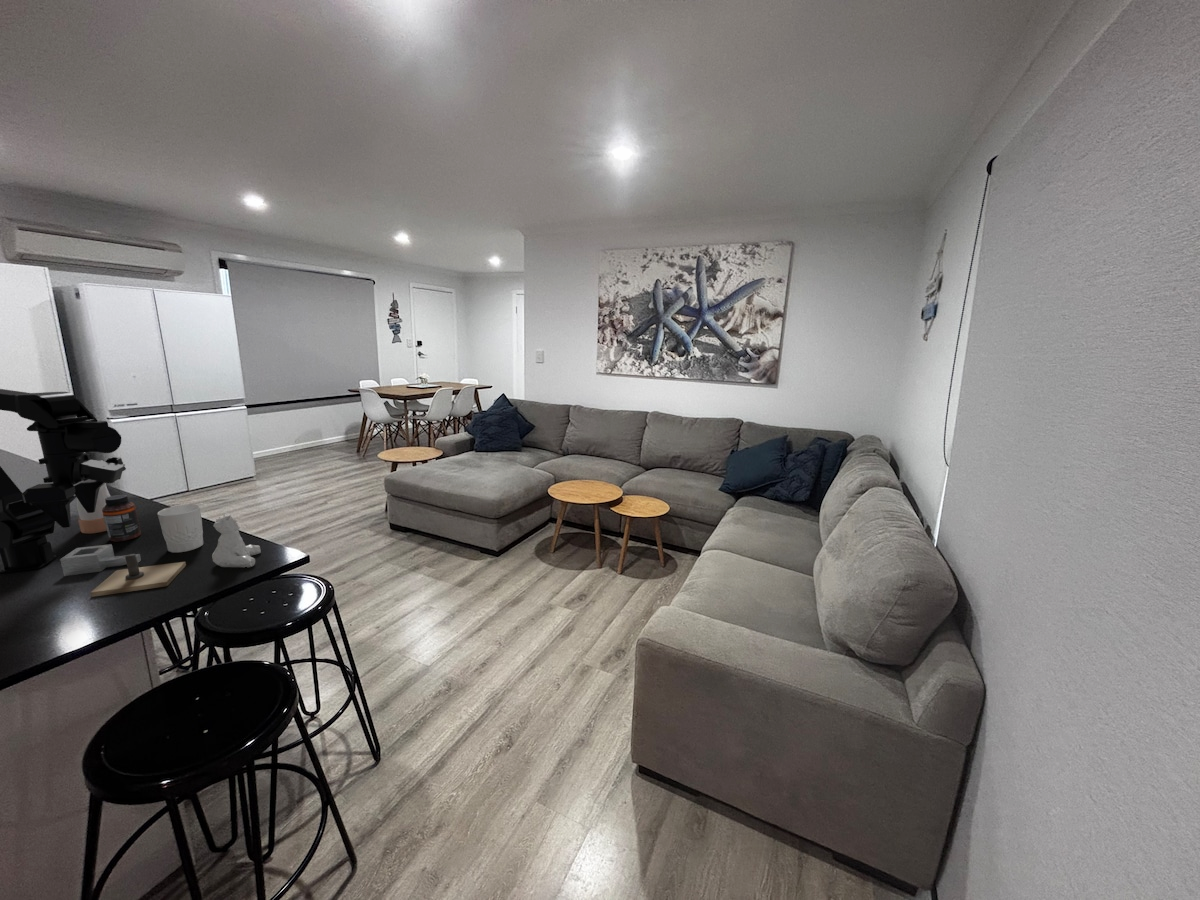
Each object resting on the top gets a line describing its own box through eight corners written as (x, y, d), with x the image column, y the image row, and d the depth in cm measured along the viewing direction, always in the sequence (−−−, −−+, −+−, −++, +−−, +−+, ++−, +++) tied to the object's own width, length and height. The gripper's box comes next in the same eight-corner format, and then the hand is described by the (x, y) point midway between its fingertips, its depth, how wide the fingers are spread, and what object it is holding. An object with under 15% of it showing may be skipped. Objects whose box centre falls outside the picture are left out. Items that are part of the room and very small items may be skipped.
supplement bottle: (123, 533, 124) (114, 493, 121) (147, 533, 124) (139, 493, 122) (102, 542, 118) (92, 500, 115) (127, 542, 118) (118, 500, 116)
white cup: (182, 555, 112) (174, 516, 110) (156, 552, 114) (148, 513, 111) (214, 542, 120) (208, 505, 117) (189, 539, 121) (183, 503, 119)
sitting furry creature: (254, 567, 107) (246, 519, 105) (207, 574, 104) (198, 524, 101) (262, 551, 116) (255, 505, 113) (219, 557, 112) (210, 510, 109)
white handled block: (64, 576, 101) (59, 559, 101) (80, 564, 107) (76, 548, 106) (133, 567, 106) (129, 551, 105) (145, 556, 111) (142, 540, 110)
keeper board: (91, 596, 94) (84, 569, 92) (117, 574, 103) (111, 549, 101) (167, 586, 99) (162, 560, 97) (186, 565, 107) (181, 541, 106)
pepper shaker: (127, 524, 129) (112, 457, 125) (97, 534, 122) (80, 464, 118) (104, 522, 130) (88, 456, 126) (72, 532, 123) (55, 463, 119)
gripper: (89, 459, 94) (105, 530, 98) (134, 440, 111) (146, 502, 114) (11, 463, 90) (31, 537, 93) (70, 443, 106) (85, 507, 110)
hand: (79, 519), depth 103 cm, fingers open, 9 cm apart
